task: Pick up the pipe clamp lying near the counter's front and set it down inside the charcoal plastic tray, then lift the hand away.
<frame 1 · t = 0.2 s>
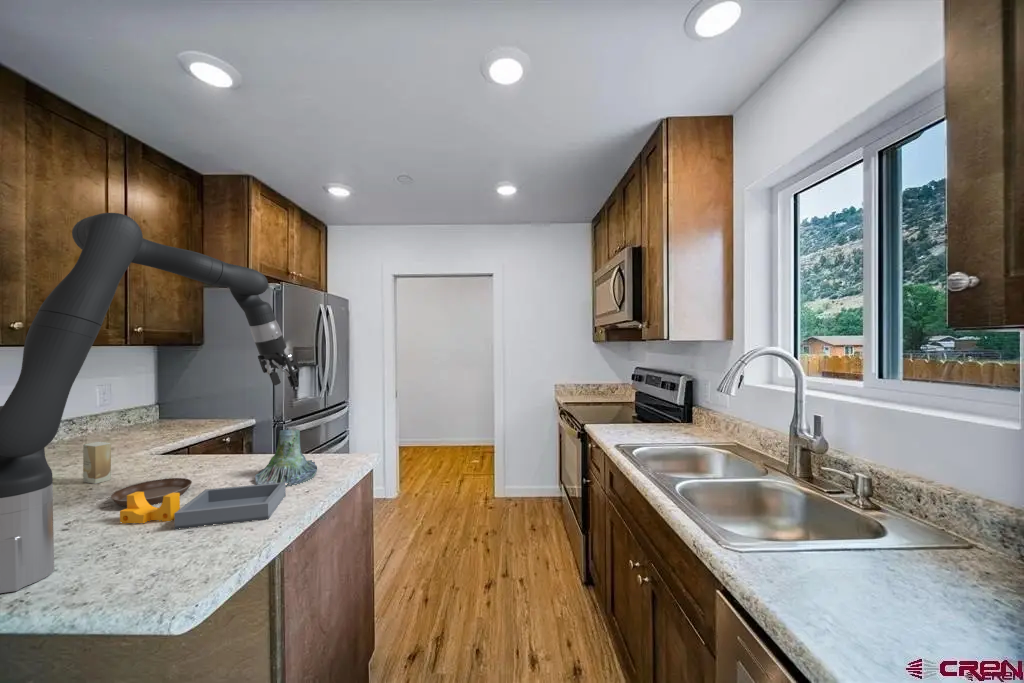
hand: (286, 385, 129), 31 cm above the countertop, tool tilted 20°, fingers open, 8 cm apart
plant saucer: (153, 499, 119), on the countertop
pipe clamp: (150, 521, 104), on the countertop
tree stump: (287, 478, 135), on the countertop
skincare box: (97, 481, 133), on the countertop
tray: (235, 511, 108), on the countertop
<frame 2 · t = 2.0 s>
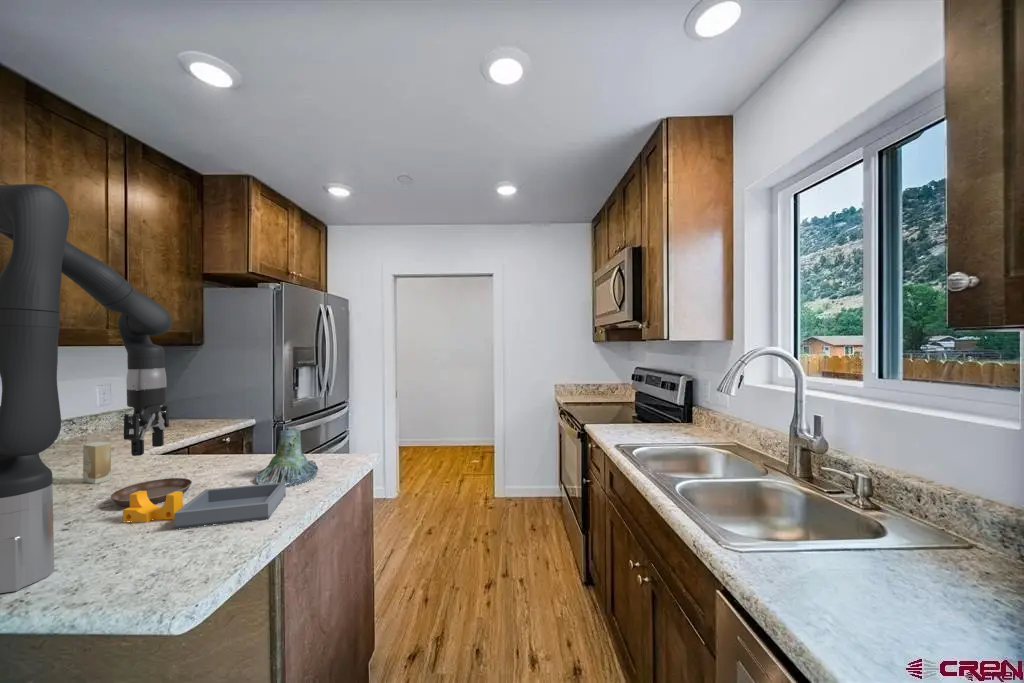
hand: (148, 450, 103), 18 cm above the countertop, tool pointing down, fingers open, 8 cm apart
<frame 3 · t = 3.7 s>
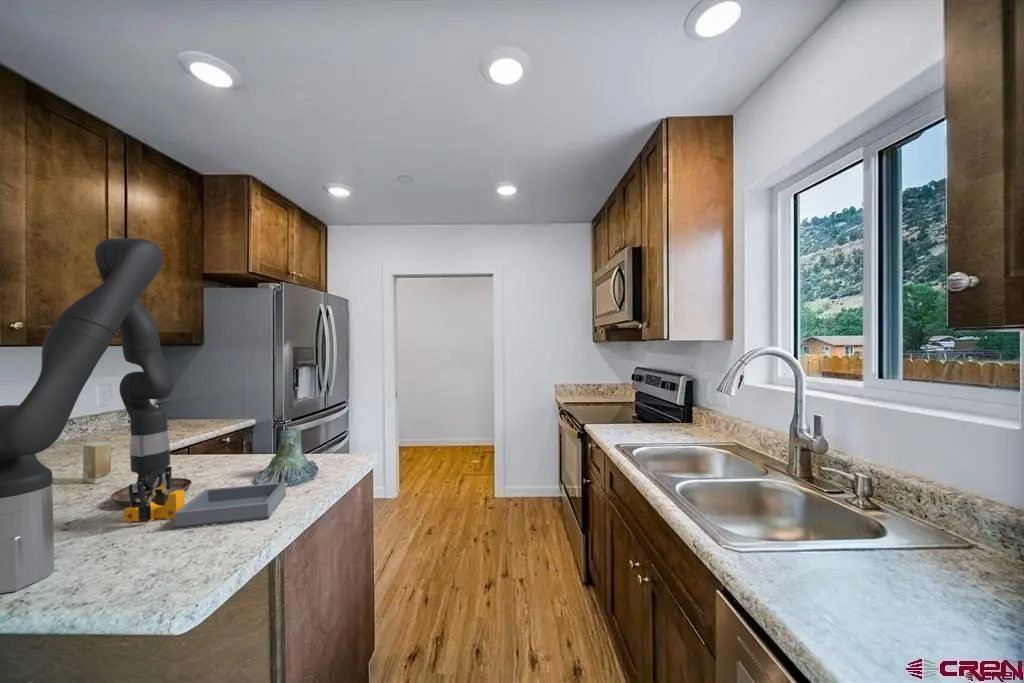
hand: (152, 514, 104), 1 cm above the countertop, tool pointing down, fingers open, 6 cm apart
pipe clamp: (155, 519, 105), on the countertop, touching gripper
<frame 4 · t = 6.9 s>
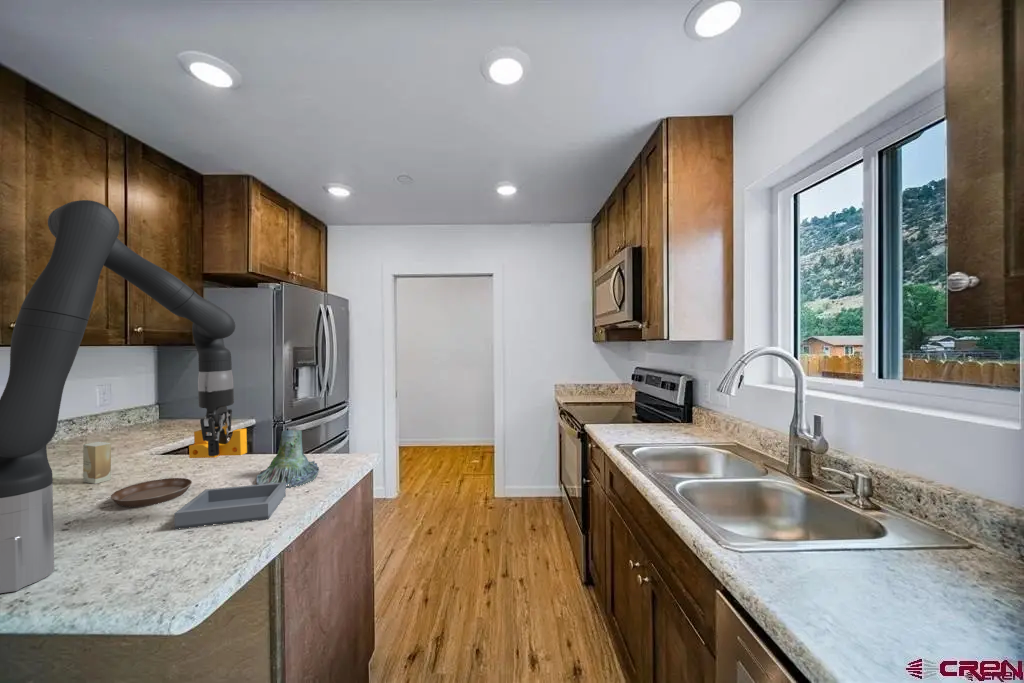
hand: (218, 452, 108), 16 cm above the countertop, tool pointing down, fingers closed on pipe clamp, 5 cm apart
pipe clamp: (218, 456, 108), point 15 cm above the countertop, touching gripper
when the fingers open (3 cm above the countertop, at t = 10.0 s): pipe clamp drops 1 cm, resting on tray.
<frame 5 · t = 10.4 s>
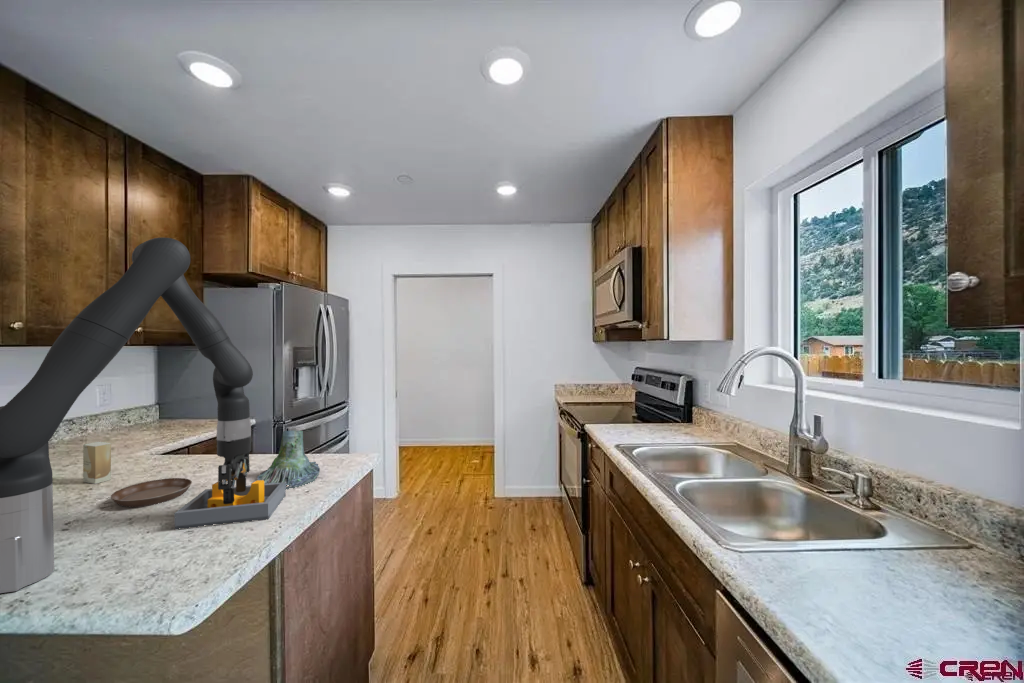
hand: (235, 497, 108), 4 cm above the countertop, tool pointing down, fingers open, 8 cm apart
pipe clamp: (236, 508, 108), point 1 cm above the countertop, touching tray
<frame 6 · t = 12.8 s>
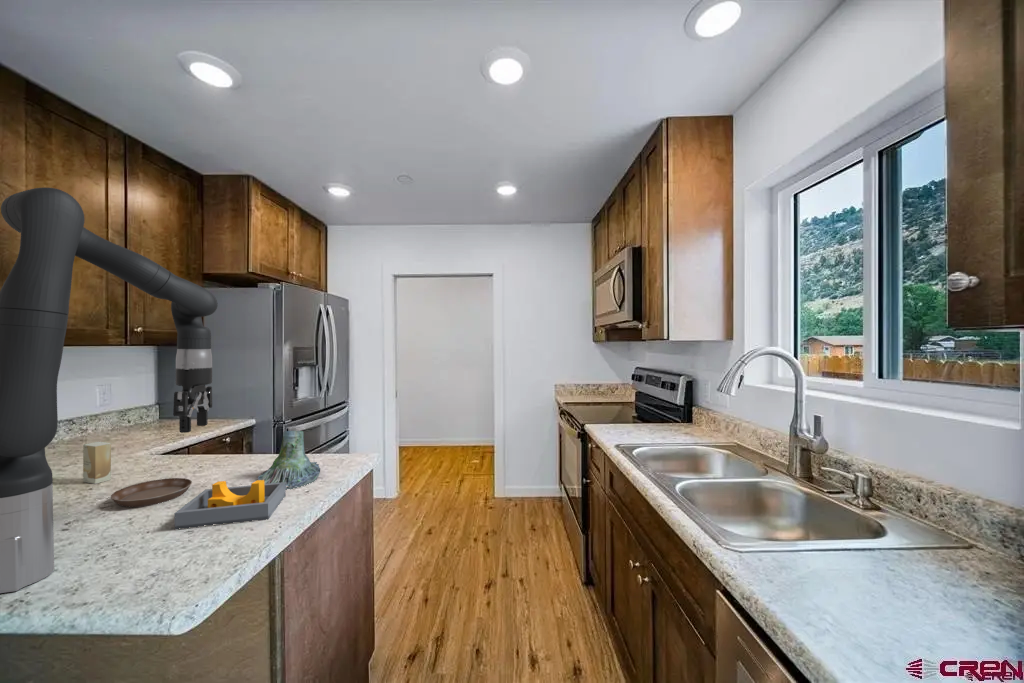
hand: (194, 428, 106), 22 cm above the countertop, tool pointing down, fingers open, 8 cm apart
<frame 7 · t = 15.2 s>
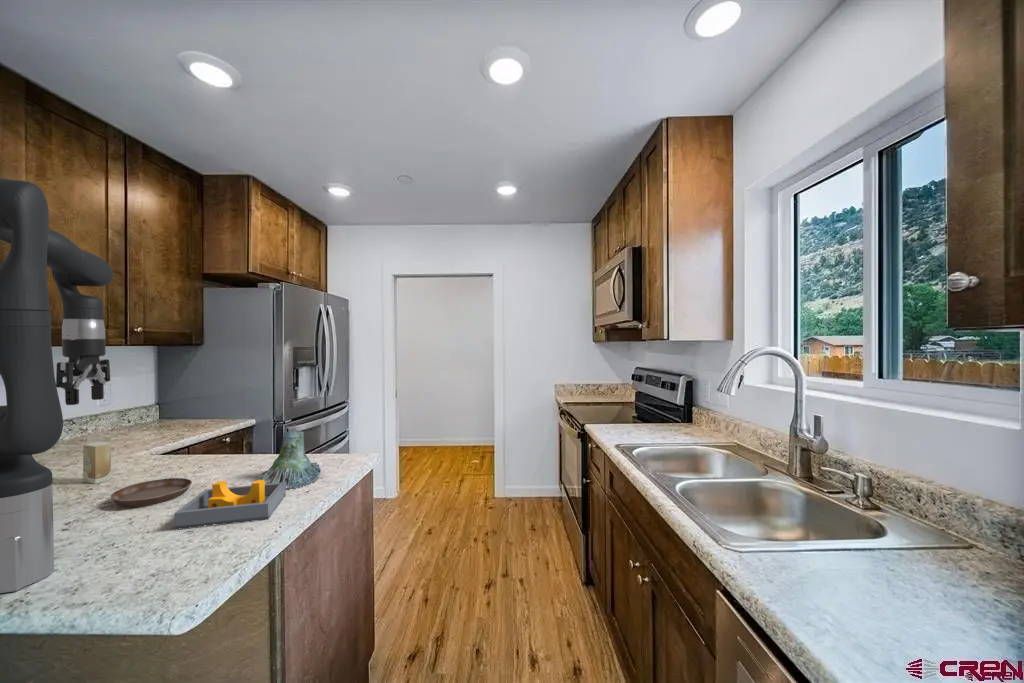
hand: (85, 402, 103), 30 cm above the countertop, tool pointing down, fingers open, 8 cm apart
at the end: pipe clamp inside the target area on the tray (0.5 cm from its centre), point 0.6 cm above the tray's base; the gripper is holding nothing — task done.
